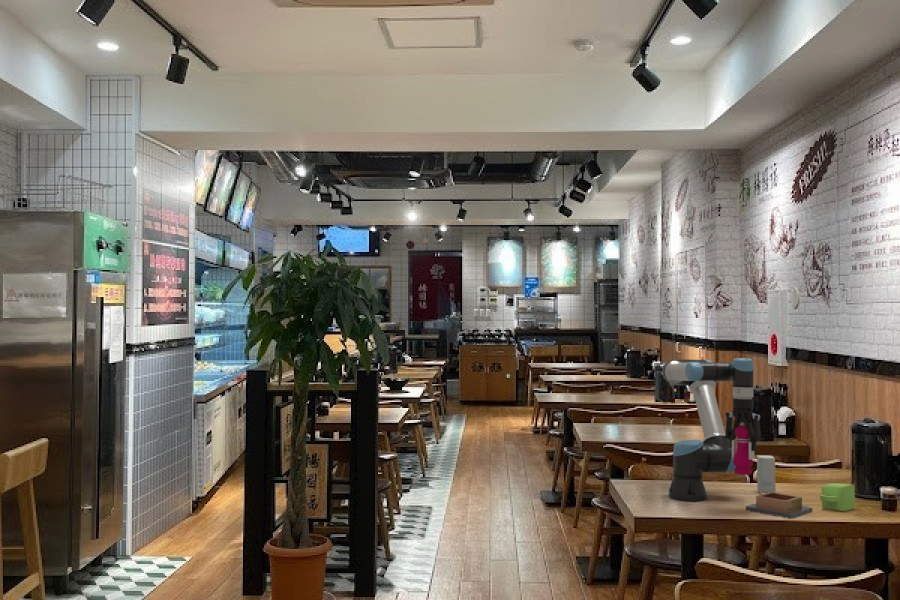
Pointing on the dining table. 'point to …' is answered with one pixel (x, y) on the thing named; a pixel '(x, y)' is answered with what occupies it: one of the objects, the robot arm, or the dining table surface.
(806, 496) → the dining table surface
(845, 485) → the green bread box
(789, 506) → the plate
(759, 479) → the skincare box
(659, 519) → the dining table surface
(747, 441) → the pepper mill
